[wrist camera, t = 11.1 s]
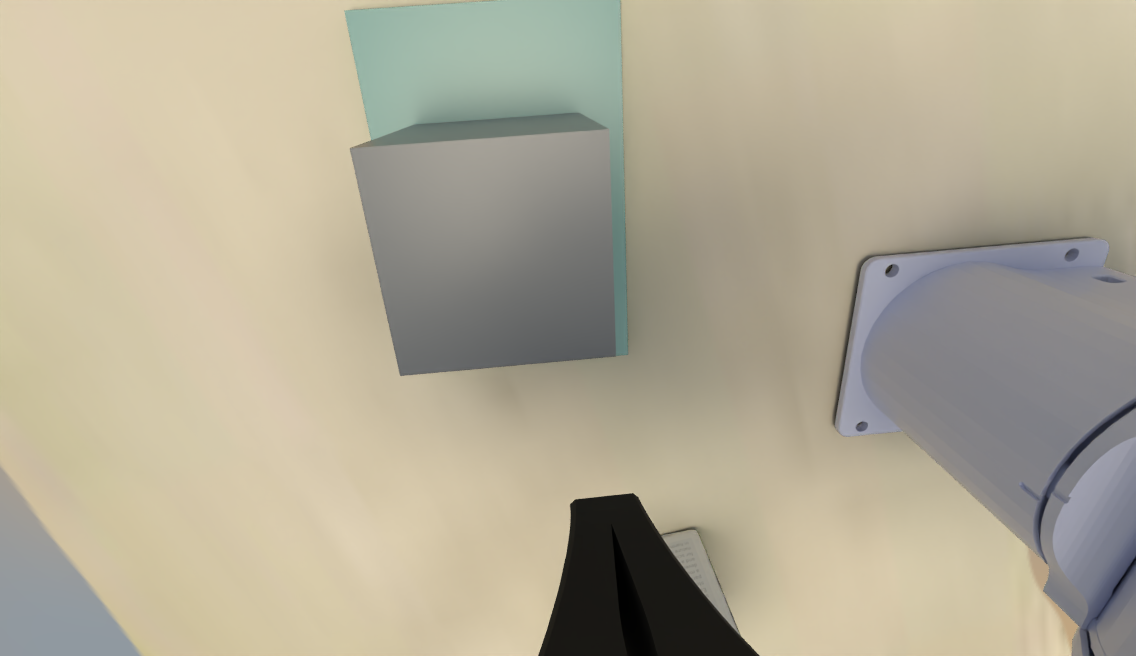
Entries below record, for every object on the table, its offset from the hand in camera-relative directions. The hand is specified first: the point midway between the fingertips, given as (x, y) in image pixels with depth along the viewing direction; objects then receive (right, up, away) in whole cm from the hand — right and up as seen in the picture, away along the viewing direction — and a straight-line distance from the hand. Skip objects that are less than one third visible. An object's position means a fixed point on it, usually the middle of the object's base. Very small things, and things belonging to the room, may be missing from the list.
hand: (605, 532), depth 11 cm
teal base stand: (-3, +9, +7) cm, 12 cm away
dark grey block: (-3, +9, +7) cm, 11 cm away
